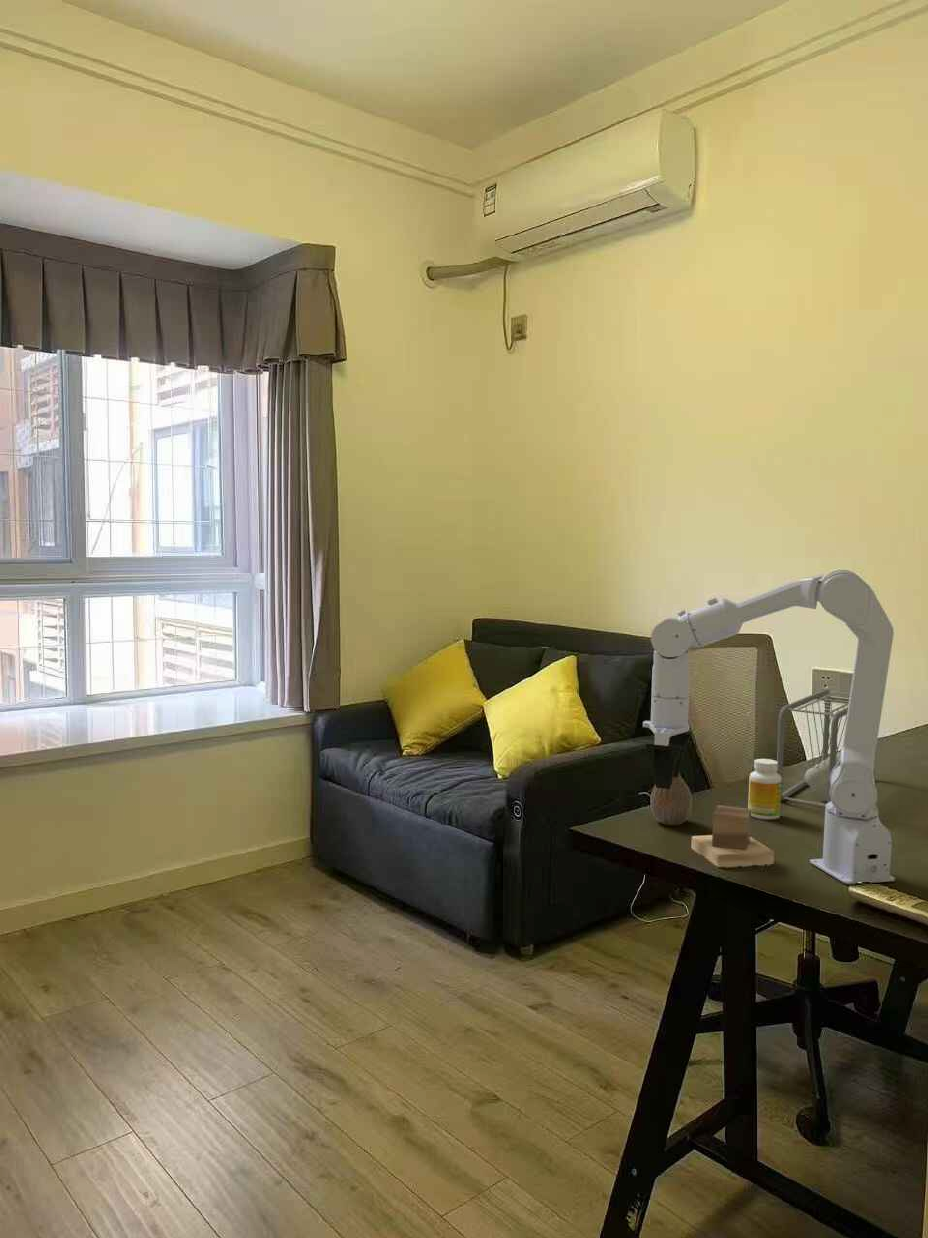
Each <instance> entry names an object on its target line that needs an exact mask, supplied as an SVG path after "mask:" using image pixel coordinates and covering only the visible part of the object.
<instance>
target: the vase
mask: <svg viewBox="0 0 928 1238" xmlns="http://www.w3.org/2000/svg"><path fill="white" fill-rule="evenodd" d="M690 790H691V789H690V788H689V786H688V784H686V782H685V781H684V779H683V778H682V776H681V773H680V772H679V775H678V777H677V778H676V777H673V780H672V784H671V787H670V789H662V788H656V785H655V784H654V786H653V788H652V791H651V795H650V802H649V803H650V810H651V813H652V816H653V817H654V818H655V819H656V821H657V822H658V823H660V824H662V825H665V826H680V825H682V824H684V823H685V822H686V820H687V819H689V817H690V814H691V811H692V805H693V800H692V799H693V798H692V792H691V791H690Z"/></svg>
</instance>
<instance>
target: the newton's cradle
mask: <svg viewBox="0 0 928 1238" xmlns="http://www.w3.org/2000/svg"><path fill="white" fill-rule="evenodd" d="M833 695H840V696H841V695H842V696H850V692H849V693H848V692H839V691H830V690H829V689H827V688H825V689H822V690H821V691H817V692H815V693H813V694H811V695H808V696H805V697H803V698H801V699H798V700H796V701H793V702H791V703H789V704H786V705H784V706H782V707H781V709H780V711H779V714H778V728H777V729H778V730H777V747H776V749H777V752H776V761H777V762H778V770H777V771H776V773H778V774H779V775H780V776H781V778H782V779H783V774H784V773H783V772H784V752H785V751H784V749H785V734H786V733H785V731H786V717H787V713H788V712H789V711H791V712H798V713H799V712H800V713H805V714H806V718H807V725H808V726H807V727H808V734H809V740H810V741H809V744H810V749H811V757H812V764H813V767H810V768H809V769H807V771H806V772H805V773H804V779H803V780H801V781H799V782H797V783H796V784H795V785H793V786H791V787H790V788H788V789H787V790H785V791H784V792H783V782H782V783H781V802H782V801H785V800H786V801H792V802H799V803H804V804H808V805H809V804H810V805H815V806H821V807H825V805H826V804H827V803H829V802H830V801H831V799H830V787H831V785H830V775H831V772H832V770H833V768H834V767H835V766H836V765H837V763H838V761H839V759H840V753H841V751H839V749H840V744H841V741H842V738H843V734H844V730H845V724H846V718H847V711H848V704H849V698H850V697H849V698H848V697H845V699H846V700H843V702H846V703H841V705H840V706H837V707H835V706H833V705H832V704H834V705H838V702H841V700H837V699H835V701H837V703H836V702H832V698H833ZM840 696H836V698H838V699H842V697H840ZM847 699H848V701H847ZM821 701H823V703H824V704H820V703H821ZM816 703H817V704H816ZM814 706H818V707H816V710H817V709H818V710H819V711H814V709H815V708H814ZM821 706H823V707H824V712H823V711H822V712H821V710H822V707H821ZM808 708H809V709H812V710H808ZM833 708H834V709H833ZM842 708H843V709H842ZM836 711H837V712H836ZM808 714H812V715H813V722H814V727H815V734H816V742H817V743H816V744H817V750H818V755H819V757H818V758H819V761H818V763H817V764H815V761H814V752H813V745H812V737H811V730H810V723H809V722H810V721H809V716H808ZM815 715H819V717H820V725H821V730H822V731H821V733H822V750H821V752H820V747H819V746H820V744H819V737H818V732H817V731H818V730H817V725H816V723H817V722H816V718H815ZM822 715H823V720H822ZM843 717H845V719H844V721H843V722H844V723H843V727H842V731H841V734H840V738H839V742H838V736H839V735H838V734H839V729H840V726H841V723H842V722H841V721H842V718H843ZM876 761H877V750H876V751H875V764H874V773H873V775H874V776H875V775H876V774H875V773H876V772H875V771H876ZM826 783H827V797H826V798H827V803H820V802H816V801H811V800H810V801H808V800H804V799H796V798H793V797H790V796H792V795H793V794H795V793H797V792H798V791H800V790H802V789H803V788H805V786H807V785H809V786H810V787H811V788H814V789H815V788H821V787H823V786H824V785H825V784H826Z"/></svg>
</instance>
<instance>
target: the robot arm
mask: <svg viewBox="0 0 928 1238" xmlns="http://www.w3.org/2000/svg"><path fill="white" fill-rule="evenodd" d="M818 602H819V603H820V605H821V607H822V608H823V609H824V610H825V612H827V613H828V614H830V615H832V616H833V617H834V618H836V619H838V620H840V621H842V622H843V623H844V624H845V626H846V627H847V628H848V629H849V630H850V631H851V632H852V633H853V634H854V635H855V637H856V638H857V647H856V651H855V652H856V653H855V659H854V667H853V672H852V679H851V685H850V691H849V694H850V695H849V699H848V701H849V704H848V705H847V707H848V711H847V718H846V717H845V718H846V722H845V726H844V730H843V737H842V745H841V749H840V752H841V753H840V759H839V761H838V763H837V765H836V766H835V767H834V768H833V770H832V772H831V775H830V785H831V787H830V799H831V801H830V802H829V803H828V802H827V803H825V804H826V805H825V806H824V807H825V811H824V827H823V829H824V830H823V844H822V845H823V846H822V848H823V849H822V858H813V859H810V860H809V863H810V864H811V865H813V866H815V867H816V868H818V869H820V870H822V871H823V872H824V873H827V874H828V875H830V876H832V877H833V878H835V879H837V880H838V881H840V882H842V883H843V884H845V885H855V883H858V882H870V883H872V884H873V883H886V882H887V883H888V882H895V881H896V878H895V876H892V875H891V863H892V862H891V861H892V843H893V841H892V836H891V835H892V834H891V832H890V831H889V829H888V828H887V827H886V826H884V825H883V824H882V822H881V821H880V818H879V808H878V807H876V804H877V802H878V801H877V800H878V792H877V787H876V779H875V778H876V777H875V774H874V775H873V773H874V764H875V765H876V762H875V751H876V752H877V743H878V737H879V730H880V724H881V718H882V711H883V704H884V699H885V691H886V686H887V678H888V672H889V665H890V660H891V654H892V653H891V652H892V646H893V641H894V635H895V633H894V627H893V625H892V623H891V620H890V619H889V618H888V616H887V614H886V612H885V610H884V609H883V608H884V607H883V606H882V605H881V603H880V601H879V599H878V598H877V595H876V594H875V591H874V589H872V587H871V586H870V585H869V584H868V583H867V582H866V581H864V579H862V578H861V577H860V576H859V575H858V574H856V573H855V572H854V571H851V570H847V569H838V570H833V571H831V572H829V573H828V574H826V576H824V573H823V574H817V575H812V576H811V575H810V576H807V577H803V578H798V579H796V580H793V581H790V582H788V583H785V584H783V585H780V586H777V587H775V588H772V589H770V590H768V591H764V592H763V593H760V594H758V595H757V594H756V595H755V596H752V597H749V598H747V599H744V600H741V601H739V602H734V601H731V600H729V599H727V598H721V599H717V597H713V598H710V599H708V600H707V604H705V605H703V606H699V607H697V608H694V609H692V610H689V611H686V610H684V609H683V610H680V611H678V612H677V615H678V617H676V616H675V617H674V616H673V617H669V618H666V619H663V620H662V621H660V622H659V623H657V624H656V625H655V626H654V628H653V629H652V632H651V634H650V642H651V645H652V646H651V647H652V648H653V650H654V651H653V658H652V659H653V665H652V669H651V670H652V671H651V672H652V673H651V697H650V698H651V701H650V704H651V705H650V720H644V721H643V722H642V728H648V729H650V730H651V731H652V733H653V734H654V740H649V739H646V740H645V741H644V743H643V744H644V745H643V746H644V748H645V751H646V753H647V754H648V757H649V761H650V764H651V768H652V774H653V781H654V786H655V785H656V788H662V789H670V787H671V784H672V780H673V777H676V778H677V777H678V775H679V773H680V771H681V767H682V763H683V757H684V754H685V750H686V747H687V745H688V743H689V741H690V740H691V738H692V735H693V733H692V731H690V726H691V725H690V724H689V713H690V712H689V710H690V687H691V686H690V685H691V684H690V683H691V666H690V655H691V654H690V653H691V652H690V649H691V648H692V647H695V648H698V649H699V648H702V647H705V646H707V645H711V644H714V643H717V642H719V641H722V640H724V639H728V638H730V637H734V636H735V635H736V636H737V635H738V634H739V633H740V631H741V628H742V627H743V624H744V623H746V622H749V621H752V620H755V619H759V618H762V617H764V616H768V615H771V614H774V613H777V612H780V611H783V610H787V609H790V608H793V607H800V608H806V609H811V610H816V608H817V605H818ZM870 883H869V884H870Z"/></svg>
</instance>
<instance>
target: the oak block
mask: <svg viewBox="0 0 928 1238" xmlns="http://www.w3.org/2000/svg"><path fill="white" fill-rule="evenodd" d="M712 836H713V834H707V835H692V836H691V850H693V851H694V852H696V853H697V854H698V855H700V856H701V855H702V856H704V857H705V858H706V859H708V860H709V861H710V862H712V863H713V864H714V865H713V864H712V863H711V864H712V865H713V866H715V865H716V866H717V867H725V868H736V867H737V868H738V866H742V867H753V866H752V865H758V866H771V865H770V864H775V863H774V862H775V851H774V850H772V849H770V848H769V847H767V846H766V845H765V844H763V843H761V842H759V841H758V840H756V839H755V838H753V837H751V836H750V842H749V844H748V847H747V849H746V850H741V849H733V848H726V847H718V846H712ZM702 856H701V857H702ZM704 857H703V858H704ZM705 858H704V859H705ZM706 859H705V860H706ZM708 860H707V861H708ZM709 861H708V862H709ZM710 862H709V863H710ZM765 864H767V865H765ZM749 865H750V866H749ZM716 866H715V867H716ZM717 867H716V868H717Z"/></svg>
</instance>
